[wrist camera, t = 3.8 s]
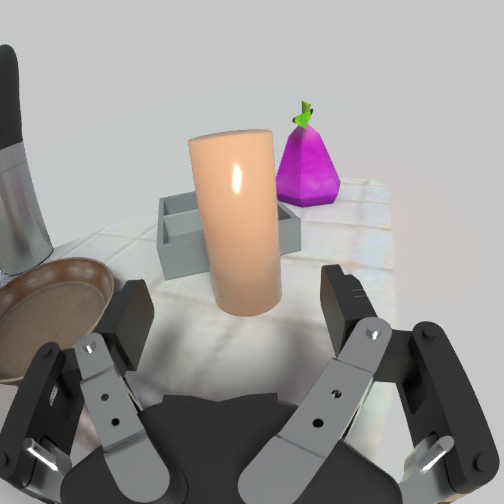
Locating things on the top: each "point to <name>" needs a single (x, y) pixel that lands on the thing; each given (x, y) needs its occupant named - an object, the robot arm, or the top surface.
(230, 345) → the top surface
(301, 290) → the top surface
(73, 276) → the object
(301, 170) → the pear
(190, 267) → the divided storage tray
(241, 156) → the peach pillar candle
